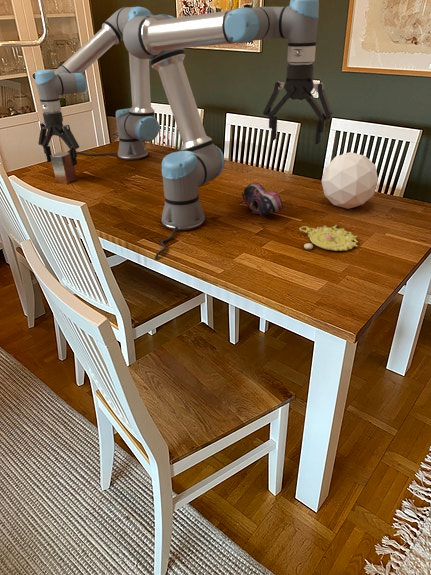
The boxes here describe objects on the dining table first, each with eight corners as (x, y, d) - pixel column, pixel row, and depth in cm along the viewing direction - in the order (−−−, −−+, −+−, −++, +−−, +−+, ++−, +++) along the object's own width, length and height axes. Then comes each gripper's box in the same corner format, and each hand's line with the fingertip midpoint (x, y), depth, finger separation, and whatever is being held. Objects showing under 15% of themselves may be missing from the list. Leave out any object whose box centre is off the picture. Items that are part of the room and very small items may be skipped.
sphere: (353, 227, 164) (368, 198, 145) (307, 200, 169) (316, 169, 150) (378, 190, 169) (396, 158, 150) (333, 165, 174) (345, 131, 155)
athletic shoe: (254, 181, 170) (227, 189, 167) (283, 176, 151) (253, 185, 147) (260, 210, 173) (234, 218, 170) (290, 209, 154) (261, 219, 150)
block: (66, 177, 201) (60, 151, 195) (77, 179, 199) (71, 152, 192) (56, 182, 196) (50, 155, 190) (67, 183, 194) (61, 156, 187)
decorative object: (343, 255, 128) (285, 234, 139) (342, 262, 130) (284, 241, 140) (372, 230, 142) (317, 213, 152) (371, 237, 143) (316, 219, 153)
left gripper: (22, 111, 183) (34, 162, 195) (69, 115, 174) (79, 168, 186) (35, 108, 189) (46, 158, 200) (82, 112, 180) (90, 164, 191)
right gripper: (253, 63, 124) (252, 140, 136) (343, 65, 115) (333, 148, 127) (262, 61, 130) (260, 135, 141) (348, 62, 121) (339, 141, 132)
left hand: (62, 163), depth 193 cm, fingers open, 13 cm apart
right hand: (295, 141), depth 134 cm, fingers open, 13 cm apart
